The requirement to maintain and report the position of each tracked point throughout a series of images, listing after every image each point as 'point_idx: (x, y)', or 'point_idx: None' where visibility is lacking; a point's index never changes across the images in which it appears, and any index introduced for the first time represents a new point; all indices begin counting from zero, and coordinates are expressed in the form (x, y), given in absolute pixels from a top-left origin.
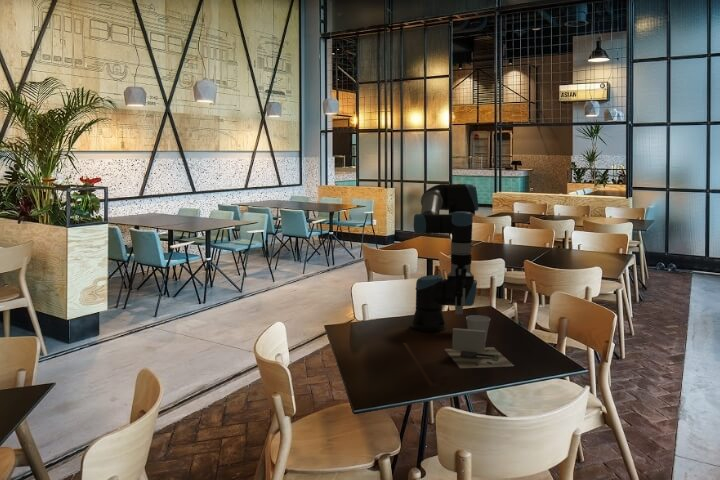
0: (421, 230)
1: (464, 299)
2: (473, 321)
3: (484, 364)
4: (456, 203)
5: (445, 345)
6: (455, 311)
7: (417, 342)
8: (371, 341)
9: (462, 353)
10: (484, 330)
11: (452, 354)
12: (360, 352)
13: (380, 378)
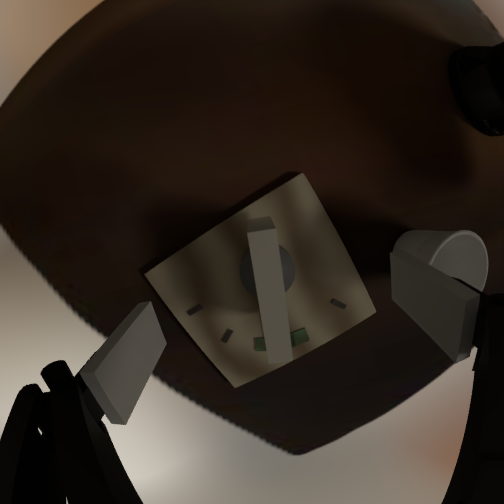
0: None
1: (409, 313)
2: None
3: (208, 327)
4: None
5: (369, 160)
6: (133, 312)
7: (356, 71)
8: None
9: (244, 256)
10: (292, 356)
11: (256, 215)
12: None
13: (39, 117)
